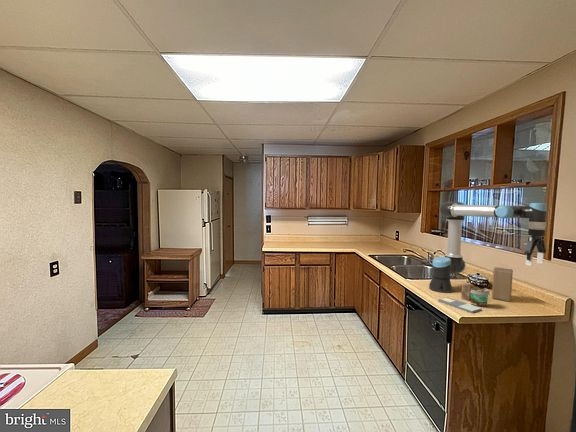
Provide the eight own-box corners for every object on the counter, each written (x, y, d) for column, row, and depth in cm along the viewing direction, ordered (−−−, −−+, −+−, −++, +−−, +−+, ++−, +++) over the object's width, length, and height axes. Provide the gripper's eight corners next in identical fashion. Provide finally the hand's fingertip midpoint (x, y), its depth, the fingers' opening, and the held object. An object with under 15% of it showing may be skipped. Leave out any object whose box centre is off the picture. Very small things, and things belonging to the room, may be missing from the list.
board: (438, 301, 181) (438, 299, 181) (447, 299, 185) (447, 297, 185) (471, 313, 162) (471, 310, 162) (481, 310, 166) (481, 308, 166)
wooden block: (492, 295, 195) (494, 266, 193) (511, 298, 188) (512, 269, 187) (491, 298, 187) (493, 269, 186) (510, 302, 180) (512, 272, 179)
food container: (478, 308, 169) (479, 292, 168) (469, 305, 175) (470, 289, 174) (493, 307, 172) (494, 291, 172) (484, 303, 178) (485, 288, 178)
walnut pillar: (461, 298, 186) (462, 284, 186) (465, 297, 188) (466, 283, 188) (469, 301, 182) (469, 286, 181) (473, 300, 184) (474, 285, 183)
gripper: (534, 230, 156) (531, 267, 157) (554, 228, 167) (552, 263, 168) (518, 229, 162) (516, 264, 164) (538, 227, 174) (536, 261, 175)
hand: (534, 264), depth 166 cm, fingers open, 13 cm apart
